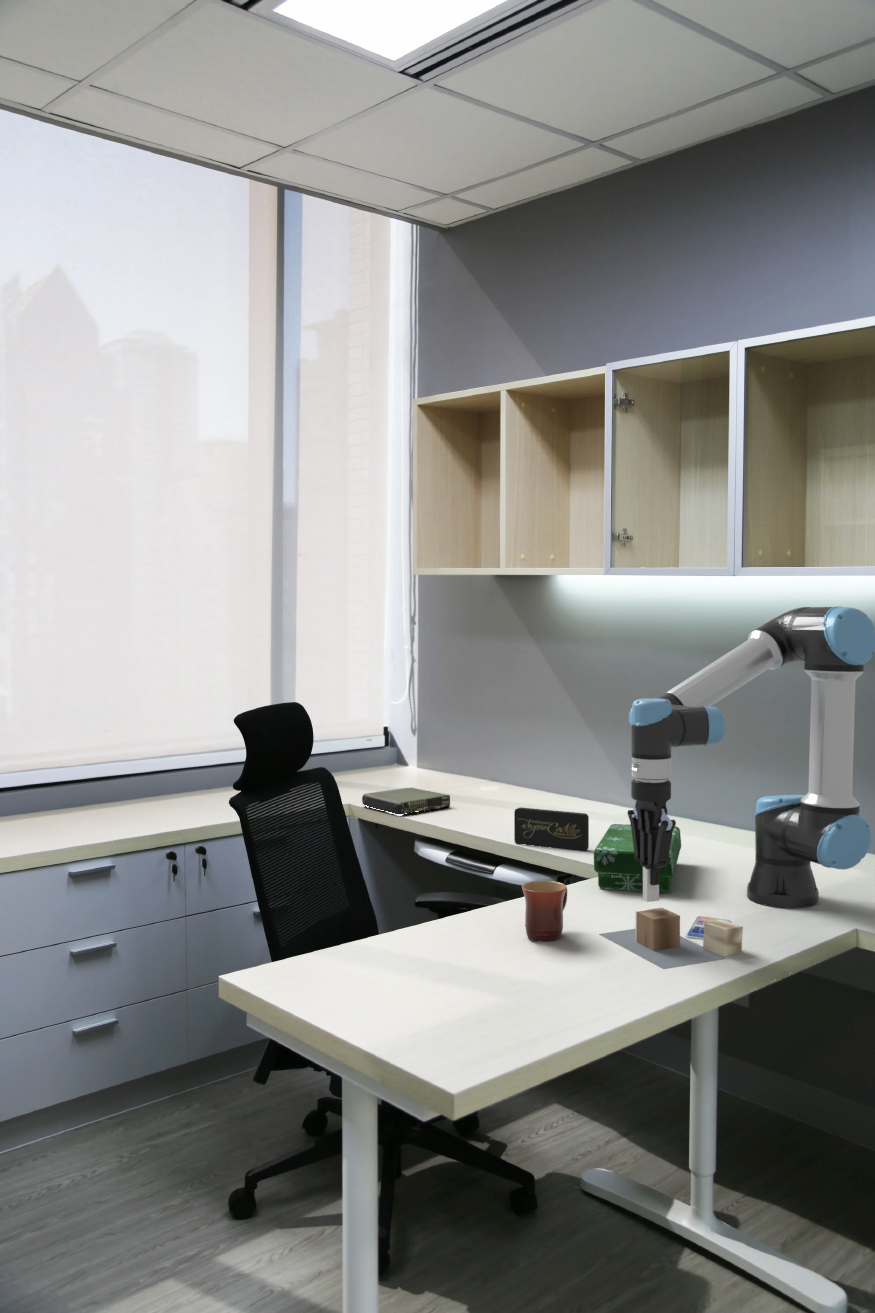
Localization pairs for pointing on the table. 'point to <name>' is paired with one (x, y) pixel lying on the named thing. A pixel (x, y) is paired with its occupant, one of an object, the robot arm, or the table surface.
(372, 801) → the network switch
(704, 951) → the felt mat
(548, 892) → the mug
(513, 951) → the table surface
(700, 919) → the smartphone
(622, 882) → the box
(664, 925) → the walnut cube
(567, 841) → the nameplate
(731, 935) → the maple block
